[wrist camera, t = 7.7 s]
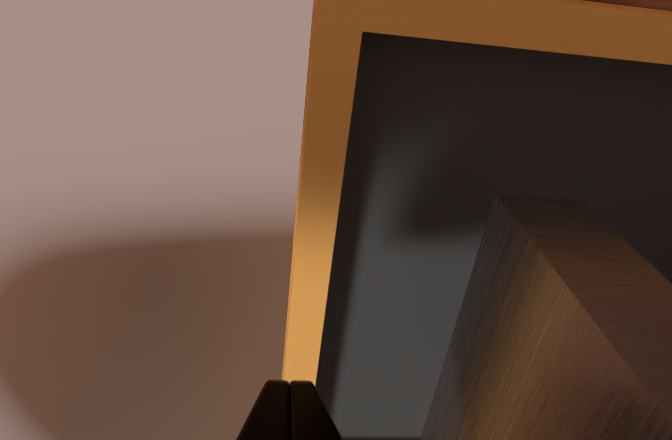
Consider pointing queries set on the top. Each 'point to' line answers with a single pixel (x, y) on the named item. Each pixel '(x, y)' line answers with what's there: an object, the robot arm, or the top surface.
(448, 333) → the wooden picture frame
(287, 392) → the robot arm
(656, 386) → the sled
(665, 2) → the top surface
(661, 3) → the top surface
